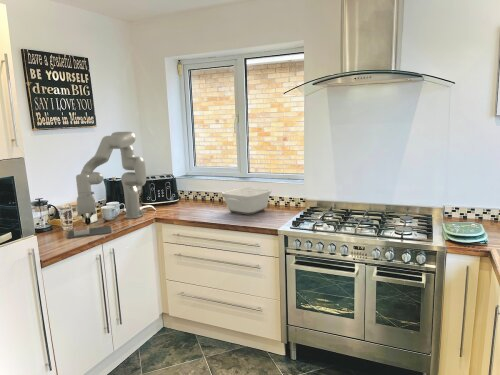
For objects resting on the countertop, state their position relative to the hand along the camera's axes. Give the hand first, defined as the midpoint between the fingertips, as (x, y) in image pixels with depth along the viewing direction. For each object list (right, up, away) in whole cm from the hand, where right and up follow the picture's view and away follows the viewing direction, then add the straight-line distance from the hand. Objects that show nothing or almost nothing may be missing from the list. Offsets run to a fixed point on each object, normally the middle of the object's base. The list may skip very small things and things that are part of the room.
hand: (88, 224), depth 227 cm
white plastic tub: (+97, +5, +40) cm, 105 cm away
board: (0, -3, +1) cm, 4 cm away
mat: (+1, -5, +1) cm, 5 cm away
